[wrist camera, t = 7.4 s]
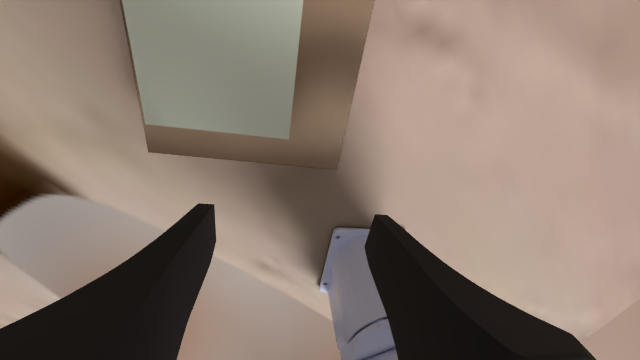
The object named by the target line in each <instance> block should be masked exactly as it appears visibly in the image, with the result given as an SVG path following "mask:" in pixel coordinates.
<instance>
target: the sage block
mask: <svg viewBox="0 0 640 360" xmlns="http://www.w3.org/2000/svg"><path fill="white" fill-rule="evenodd" d="M122 3H123V8H124V14H125V19H126V24H127V30H128V35H129V40H130V45H131V51H132V56H133V61H134V67H135V72H136V77H137V83H138V88H139V93H140V99H141V104H142V109H143V115H144V120H145V124H148V125H158V126H167V127H176V128H186V129H195V130H205V131H214V132H224V133H233V134H242V135H252V136H261V137H271V138H280V139H289V134H290V124H291V115H292V105H293V96H294V86H295V76H296V67H297V57H298V47H299V38H300V28H301V18H302V9H303V0H122Z"/></svg>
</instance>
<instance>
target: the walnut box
mask: <svg viewBox="0 0 640 360" xmlns="http://www.w3.org/2000/svg"><path fill="white" fill-rule="evenodd" d="M374 1H375V0H303V9H302V18H301V28H300V38H299V47H298V57H297V67H296V76H295V86H294V96H293V105H292V115H291V124H290V134H289V139H280V138H271V137H261V136H252V135H242V134H233V133H224V132H214V131H205V130H195V129H186V128H176V127H167V126H158V125H148V124H145V120H144V115H143V109H142V104H141V99H140V93H139V88H138V83H137V77H136V72H135V67H134V61H133V56H132V51H131V45H130V40H129V35H128V30H127V24H126V19H125V14H124V8H123V3H122V0H120V3H121V8H122V14H123V19H124V24H125V30H126V35H127V40H128V46H129V51H130V56H131V62H132V67H133V72H134V78H135V83H136V88H137V94H138V99H139V104H140V110H141V115H142V120H143V126H144V131H145V136H146V142H147V147H148V152H152V153H163V154H173V155H184V156H194V157H205V158H216V159H226V160H237V161H248V162H258V163H269V164H280V165H290V166H301V167H311V168H322V169H333V170H337V167H338V162H339V158H340V153H341V149H342V144H343V140H344V135H345V131H346V126H347V122H348V117H349V113H350V108H351V104H352V100H353V95H354V91H355V86H356V82H357V77H358V73H359V68H360V64H361V59H362V55H363V50H364V46H365V41H366V37H367V32H368V28H369V23H370V19H371V14H372V10H373V5H374Z"/></svg>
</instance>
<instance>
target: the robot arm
mask: <svg viewBox="0 0 640 360" xmlns="http://www.w3.org/2000/svg"><path fill="white" fill-rule="evenodd" d="M336 236H338V237H336ZM215 243H216V231H215V212H214V205H213V204H197V205H196V206H195V207H194V208H193V209H191V210H190V211H189V212H188V213H187V214H186V215H185V216H183V217H182V218H181V219H180V220H179V221H178V222H176V223H175V224H174V225H173V226H172V227H170V228H169V229H168V230H167V231H166V232H164V233H163V234H162V235H161V236H159V237H158V238H157V239H156V240H155V241H153V242H152V243H150V244H149V245H148V246H146V247H145V248H143V249H142V250H141V251H139V252H138V253H137V254H135V255H134V256H132V257H131V258H129V259H128V260H127V261H125V262H123V263H122V264H121V265H119V266H117V267H116V268H114V269H112V270H111V271H109V272H108V273H106V274H104V275H103V276H101V277H99V278H98V279H96V280H94V281H92V282H91V283H89V284H87V285H85V286H83V287H82V288H80V289H78V290H76V291H75V292H73V293H71V294H69V295H67V296H66V297H64V298H62V299H60V300H58V301H56V302H54V303H52V304H50V305H48V306H46V307H44V308H42V309H40V310H38V311H36V312H34V313H32V314H30V315H28V316H26V317H24V318H22V319H20V320H18V321H16V322H14V323H12V324H9V325H7V326H5V327H3V328H1V329H0V360H177V356H178V352H179V349H180V345H181V342H182V339H183V335H184V332H185V328H186V325H187V322H188V319H189V317H190V314H191V311H192V309H193V306H194V303H195V301H196V299H197V296H198V294H199V291H200V289H201V286H202V283H203V281H204V278H205V276H206V273H207V270H208V268H209V265H210V263H211V259H212V255H213V251H214V247H215ZM319 289H320V291H321V292H328V295H329V301H330V307H331V313H332V319H333V325H334V331H335V336H336V342H337V346H338V348H339V350H340V354H341V360H596V359H595V358H594V357H593V356H592V355H591V353H590V352H589V351H588V350H587V349H586V348H585V347H584V346H583V345H582V344H581V343H580V342H579V341H578V340H577V339H576V338H575V337H574V336H573V335H572V334H570V333H568V332H566V331H564V330H562V329H560V328H557V327H555V326H553V325H551V324H549V323H547V322H545V321H542V320H540V319H538V318H536V317H534V316H532V315H530V314H528V313H526V312H524V311H522V310H520V309H518V308H516V307H515V306H513V305H511V304H509V303H507V302H505V301H503V300H502V299H500V298H498V297H496V296H495V295H493V294H491V293H490V292H488V291H486V290H485V289H483V288H481V287H480V286H478V285H476V284H475V283H473V282H472V281H470V280H468V279H467V278H465V277H464V276H463V275H461V274H460V273H458V272H457V271H455V270H454V269H452V268H451V267H450V266H448V265H447V264H445V263H444V262H443V261H442V260H440V259H439V258H438V257H436V256H435V255H434V254H433V253H431V252H430V251H429V250H428V249H426V248H425V247H424V246H423V245H422V244H420V243H419V242H418V241H417V240H416V239H415V238H413V237H412V236H411V235H410V234H409V233H408V232H407V231H405V230H404V229H403V228H402V227H401V226H400V225H399V224H397V223H396V222H395V221H394V220H393V219H391V218H390V217H389V216H388V215H376V214H375V216H374V219H373V222H372V225H371V228H370V229H359V228H335V229H334V231H333V234H332V238H331V242H330V246H329V250H328V254H327V258H326V262H325V266H324V270H323V274H322V278H321V282H320V286H319Z"/></svg>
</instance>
